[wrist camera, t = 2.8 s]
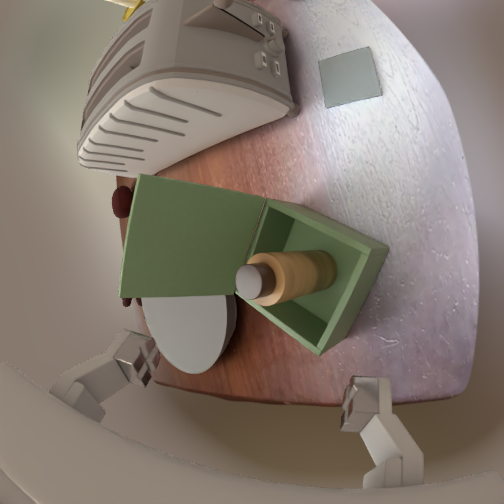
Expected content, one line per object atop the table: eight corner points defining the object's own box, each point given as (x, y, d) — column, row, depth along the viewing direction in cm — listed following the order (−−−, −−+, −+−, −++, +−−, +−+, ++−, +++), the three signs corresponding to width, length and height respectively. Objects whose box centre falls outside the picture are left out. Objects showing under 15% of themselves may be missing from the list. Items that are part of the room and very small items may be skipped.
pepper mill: (337, 249, 33) (269, 253, 24) (337, 291, 33) (271, 313, 24) (302, 250, 37) (227, 253, 27) (302, 289, 37) (229, 306, 27)
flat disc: (228, 199, 46) (207, 196, 43) (263, 370, 43) (243, 379, 39) (149, 244, 65) (133, 244, 61) (172, 362, 61) (155, 367, 57)
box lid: (140, 174, 23) (130, 165, 26) (119, 298, 27) (111, 275, 30) (265, 198, 32) (242, 187, 35) (233, 294, 36) (215, 276, 39)
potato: (128, 221, 73) (108, 220, 69) (127, 190, 74) (107, 189, 70) (139, 214, 68) (118, 213, 64) (138, 181, 69) (117, 179, 65)
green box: (389, 247, 30) (372, 248, 24) (344, 338, 33) (318, 356, 28) (298, 203, 38) (266, 197, 33) (268, 286, 41) (234, 292, 36)
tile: (370, 48, 28) (368, 46, 28) (382, 95, 28) (381, 93, 28) (320, 63, 34) (318, 61, 33) (327, 108, 34) (325, 106, 33)
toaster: (325, 117, 34) (184, 36, 17) (151, 183, 64) (61, 176, 47) (304, 14, 34) (201, -60, 17) (155, 106, 64) (76, 89, 47)
